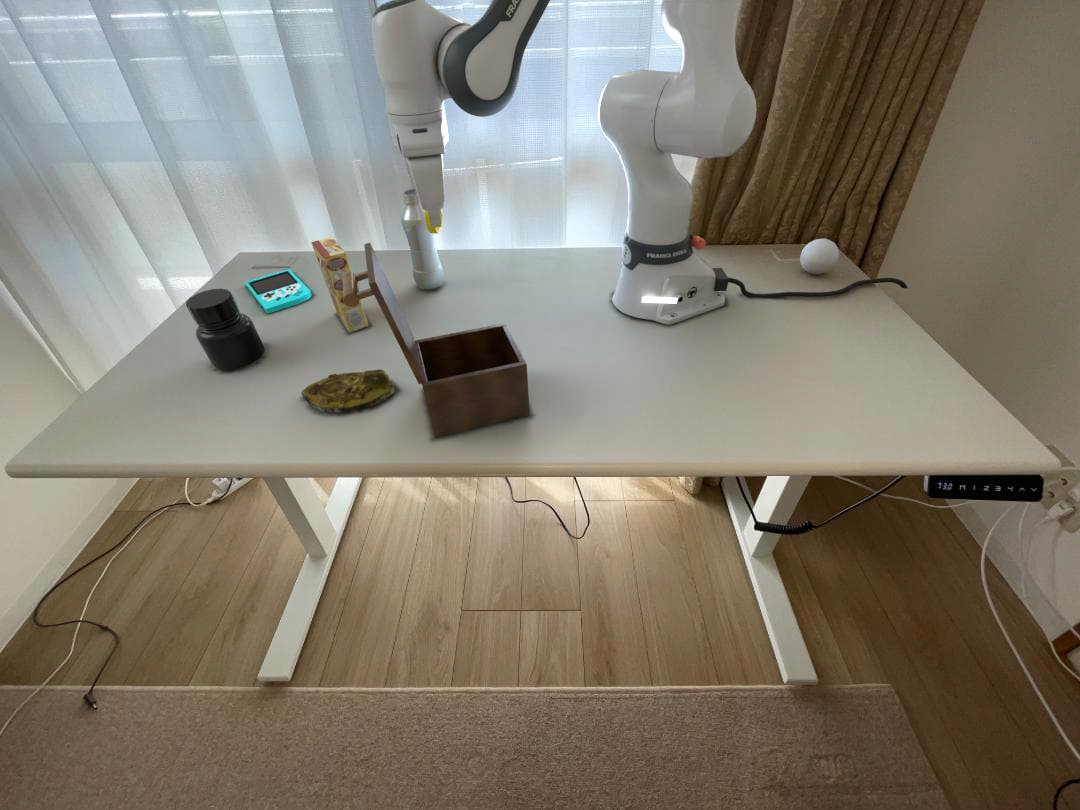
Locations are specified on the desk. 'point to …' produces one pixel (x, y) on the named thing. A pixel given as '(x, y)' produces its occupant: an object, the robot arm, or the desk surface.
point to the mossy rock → (349, 391)
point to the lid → (383, 306)
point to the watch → (429, 227)
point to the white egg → (819, 256)
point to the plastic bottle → (421, 243)
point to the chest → (473, 379)
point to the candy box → (338, 281)
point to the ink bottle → (224, 330)
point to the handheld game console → (278, 290)
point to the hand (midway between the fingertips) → (434, 218)
